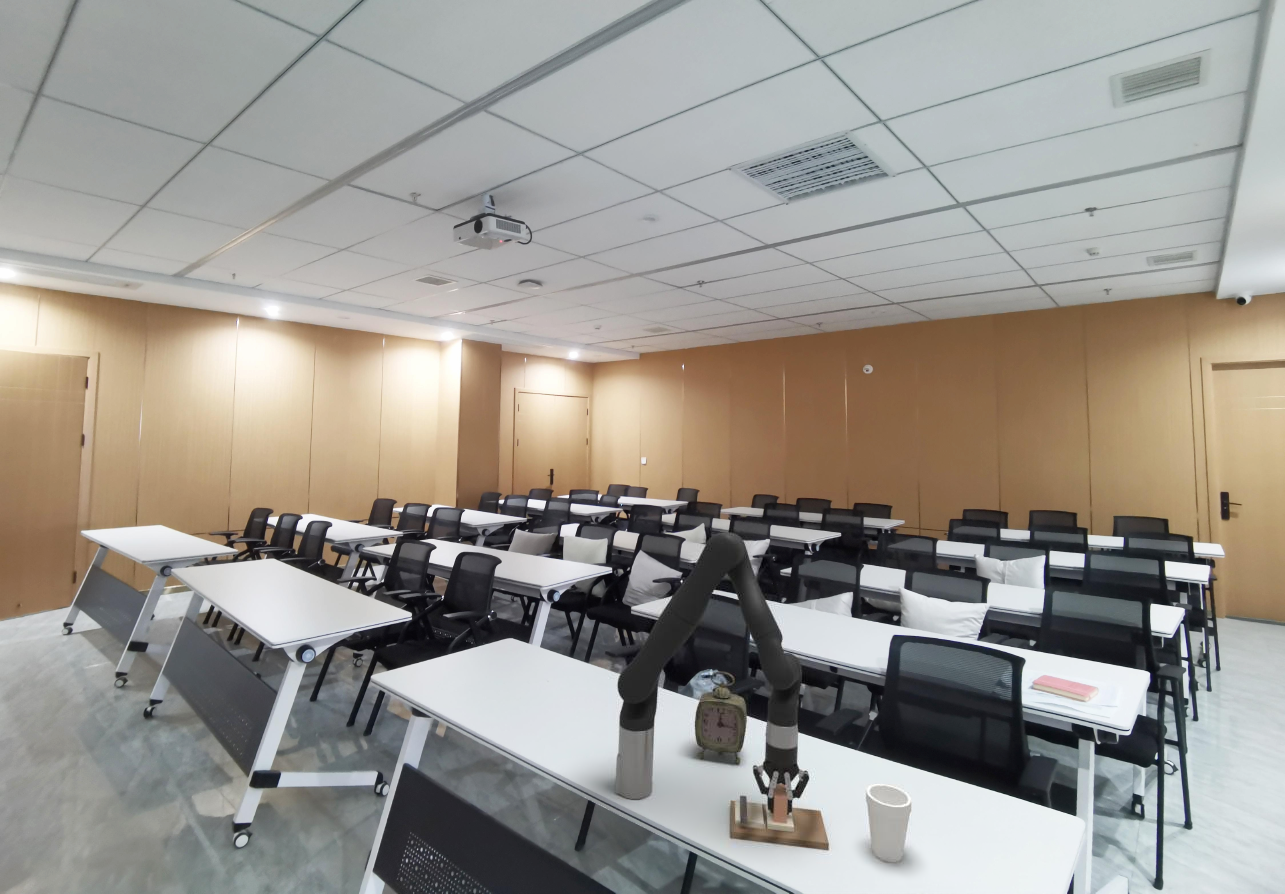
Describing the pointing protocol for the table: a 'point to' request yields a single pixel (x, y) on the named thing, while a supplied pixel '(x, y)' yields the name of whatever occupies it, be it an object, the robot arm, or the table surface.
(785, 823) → the stub
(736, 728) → the tabletop clock
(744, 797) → the stand
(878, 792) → the foam cup
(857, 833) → the table surface
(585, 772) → the table surface
